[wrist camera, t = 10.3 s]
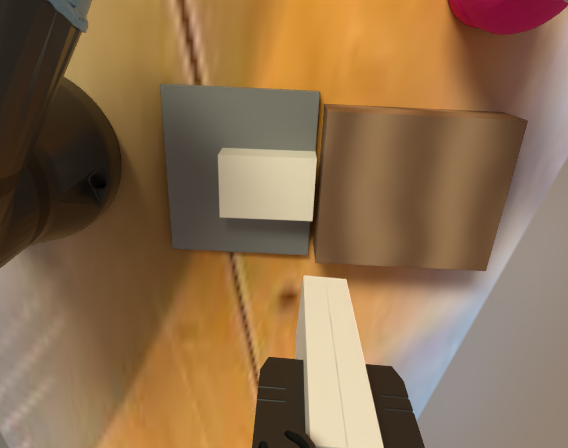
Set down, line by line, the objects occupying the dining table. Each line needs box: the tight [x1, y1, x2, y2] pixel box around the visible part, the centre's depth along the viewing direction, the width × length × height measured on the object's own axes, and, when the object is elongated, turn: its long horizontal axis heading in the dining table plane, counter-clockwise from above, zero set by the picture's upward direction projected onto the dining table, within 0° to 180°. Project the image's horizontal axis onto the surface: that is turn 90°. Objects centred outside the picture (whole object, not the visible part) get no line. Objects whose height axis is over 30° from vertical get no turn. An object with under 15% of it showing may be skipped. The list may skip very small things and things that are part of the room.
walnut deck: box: [313, 104, 528, 271], centre depth 35 cm, size 15×13×4 cm
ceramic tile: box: [218, 148, 317, 221], centre depth 35 cm, size 8×6×2 cm
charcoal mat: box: [160, 84, 320, 255], centre depth 37 cm, size 13×15×1 cm
